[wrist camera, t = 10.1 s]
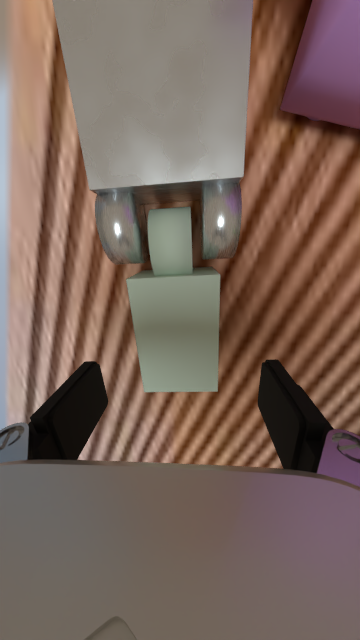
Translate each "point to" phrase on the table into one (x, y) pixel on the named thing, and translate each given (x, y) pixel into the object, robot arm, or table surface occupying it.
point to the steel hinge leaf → (160, 112)
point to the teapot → (327, 65)
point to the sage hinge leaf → (175, 310)
